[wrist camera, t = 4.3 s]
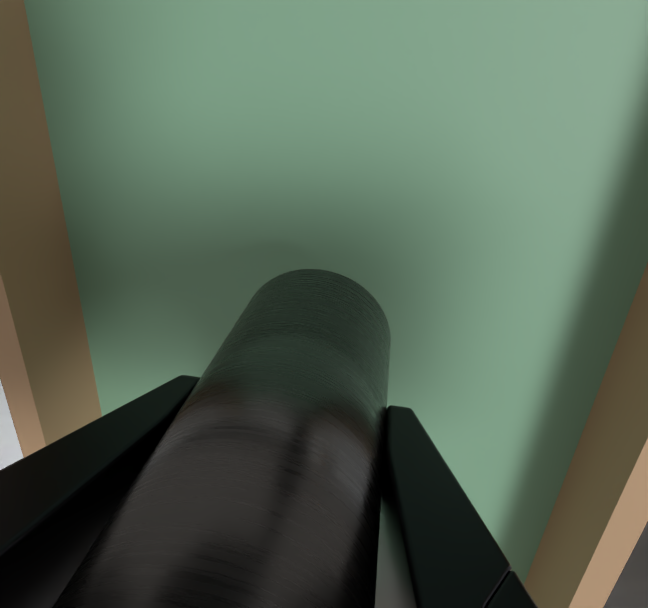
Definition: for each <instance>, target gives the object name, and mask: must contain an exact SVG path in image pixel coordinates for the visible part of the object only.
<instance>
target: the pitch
mask: <svg viewBox="0 0 648 608" xmlns="http://www.w3.org/2000/svg"><path fill="white" fill-rule="evenodd" d="M299 269H321V270H326V271H331V272H334V273H338V274H341V275H343V276H345V277H348V278H350V279H351V280H353V281H355V282H357V283H358V284H360V285H361V286H362V287H363V288H365V289H366V290H367V291H368V292H369V293H370V294H371V295H372V296H373V297H374V298H375V299H376V301H377V302H378V303H379V304H380V306H381V308H382V310H383V311H384V313H385V315H386V318H387V320H388V324H389V328H390V335H391V346H390V362H389V379H388V396H387V407H388V406H390V405H394V406H401V407H408V408H411V409H412V410H413V411H414V413H415V414H416V416H417V418H418V419H419V421H420V422H421V424H422V425H423V427H424V429H425V430H426V432H427V433H428V435H429V436H430V438H431V440H432V441H433V443H434V444H435V446H436V448H437V449H438V451H439V452H440V454H441V455H442V457H443V459H444V460H445V462H446V463H447V465H448V466H449V468H450V470H451V471H452V473H453V474H454V476H455V478H456V479H457V481H458V482H459V484H460V485H461V487H462V489H463V490H464V492H465V493H466V495H467V497H468V498H469V500H470V501H471V503H472V504H473V506H474V508H475V509H476V511H477V512H478V514H479V515H480V517H481V519H482V520H483V522H484V523H485V525H486V527H487V528H488V530H489V531H490V533H491V534H492V536H493V538H494V539H495V541H496V542H497V544H498V545H499V547H500V549H501V550H502V552H503V553H504V555H505V557H506V558H507V560H508V561H509V563H510V564H511V566H512V570H511V571H515V572H516V574H517V575H518V577H519V578H520V580H521V582H522V583H523V585H524V586H525V588H526V589H527V591H528V593H529V594H530V596H531V597H532V599H533V600H534V602H535V603H536V605H537V606H538V608H603V607H604V605H605V603H606V601H607V599H608V597H609V595H610V593H611V591H612V589H613V588H614V586H615V584H616V582H617V580H618V578H619V576H620V574H621V572H622V570H623V568H624V566H625V564H626V562H627V560H628V559H629V557H630V555H631V553H632V551H633V549H634V547H635V545H636V543H637V541H638V539H639V537H640V535H641V533H642V532H643V530H644V528H645V526H646V524H647V522H648V0H0V379H1V382H2V386H3V389H4V392H5V396H6V399H7V403H8V406H9V409H10V413H11V416H12V420H13V423H14V426H15V430H16V433H17V437H18V440H19V443H20V447H21V450H22V454H23V457H26V456H28V455H30V454H32V453H34V452H36V451H38V450H40V449H41V448H43V447H45V446H47V445H49V444H51V443H53V442H55V441H57V440H59V439H60V438H62V437H64V436H66V435H68V434H70V433H72V432H74V431H76V430H77V429H79V428H81V427H83V426H85V425H87V424H89V423H91V422H93V421H94V420H96V419H98V418H100V417H102V416H104V415H106V414H108V413H110V412H111V411H113V410H115V409H117V408H119V407H121V406H123V405H125V404H127V403H128V402H130V401H132V400H134V399H136V398H138V397H140V396H142V395H144V394H146V393H147V392H149V391H151V390H153V389H155V388H157V387H159V386H161V385H163V384H164V383H166V382H168V381H170V380H172V379H174V378H176V377H178V376H180V375H188V376H195V377H201V376H202V374H203V373H204V371H205V370H206V368H207V367H208V365H209V364H210V362H211V360H212V359H213V357H214V356H215V354H216V353H217V351H218V350H219V348H220V347H221V345H222V343H223V342H224V340H225V339H226V337H227V336H228V334H229V333H230V331H231V330H232V328H233V326H234V325H235V323H236V322H237V320H238V319H239V317H240V316H241V314H242V312H243V311H244V309H245V308H246V306H247V305H248V303H249V302H250V300H251V299H252V297H253V296H254V294H255V293H256V292H257V291H258V290H259V289H260V288H261V287H262V286H263V285H264V284H265V283H267V282H268V281H269V280H271V279H273V278H275V277H276V276H278V275H281V274H283V273H286V272H289V271H294V270H299Z"/></svg>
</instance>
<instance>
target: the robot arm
mask: <svg viewBox="0 0 648 608" xmlns="http://www.w3.org/2000/svg"><path fill="white" fill-rule="evenodd" d="M200 378H201V377H195V376H188V375H180V376H178V377H176V378H174V379H172V380H170V381H168V382H166V383H164V384H163V385H161V386H159V387H157V388H155V389H153V390H151V391H149V392H147V393H146V394H144V395H142V396H140V397H138V398H136V399H134V400H132V401H130V402H128V403H127V404H125V405H123V406H121V407H119V408H117V409H115V410H113V411H111V412H110V413H108V414H106V415H104V416H102V417H100V418H98V419H96V420H94V421H93V422H91V423H89V424H87V425H85V426H83V427H81V428H79V429H77V430H76V431H74V432H72V433H70V434H68V435H66V436H64V437H62V438H60V439H59V440H57V441H55V442H53V443H51V444H49V445H47V446H45V447H43V448H41V449H40V450H38V451H36V452H34V453H32V454H30V455H28V456H26V457H24V458H23V459H21V460H19V461H17V462H15V463H13V464H11V465H9V466H7V467H5V468H4V469H2V470H0V608H52V607H53V605H54V604H55V602H56V601H57V599H58V598H59V596H60V594H61V593H62V591H63V590H64V588H65V587H66V585H67V584H68V582H69V581H70V579H71V577H72V576H73V574H74V573H75V571H76V570H77V568H78V567H79V565H80V563H81V562H82V560H83V559H84V557H85V556H86V554H87V553H88V551H89V550H90V548H91V546H92V545H93V543H94V542H95V540H96V539H97V537H98V536H99V534H100V533H101V531H102V529H103V528H104V526H105V525H106V523H107V522H108V520H109V519H110V517H111V515H112V514H113V512H114V511H115V509H116V508H117V506H118V505H119V503H120V502H121V500H122V498H123V497H124V495H125V494H126V492H127V491H128V489H129V488H130V486H131V484H132V483H133V481H134V480H135V478H136V477H137V475H138V474H139V472H140V471H141V469H142V467H143V466H144V464H145V463H146V461H147V460H148V458H149V457H150V455H151V453H152V452H153V450H154V449H155V447H156V446H157V444H158V443H159V441H160V440H161V438H162V436H163V435H164V433H165V432H166V430H167V429H168V427H169V426H170V424H171V422H172V421H173V419H174V418H175V416H176V415H177V413H178V412H179V410H180V409H181V407H182V405H183V404H184V402H185V401H186V399H187V398H188V396H189V395H190V393H191V391H192V390H193V388H194V387H195V385H196V384H197V382H198V381H199V379H200ZM511 570H512V566H511V564H510V563H509V561H508V560H507V558H506V557H505V555H504V553H503V552H502V550H501V549H500V547H499V545H498V544H497V542H496V541H495V539H494V538H493V536H492V534H491V533H490V531H489V530H488V528H487V527H486V525H485V523H484V522H483V520H482V519H481V517H480V515H479V514H478V512H477V511H476V509H475V508H474V506H473V504H472V503H471V501H470V500H469V498H468V497H467V495H466V493H465V492H464V490H463V489H462V487H461V485H460V484H459V482H458V481H457V479H456V478H455V476H454V474H453V473H452V471H451V470H450V468H449V466H448V465H447V463H446V462H445V460H444V459H443V457H442V455H441V454H440V452H439V451H438V449H437V448H436V446H435V444H434V443H433V441H432V440H431V438H430V436H429V435H428V433H427V432H426V430H425V429H424V427H423V425H422V424H421V422H420V421H419V419H418V418H417V416H416V414H415V413H414V411H413V410H412V409H411V408H408V407H401V406H394V405H390V406H388V407H387V412H386V429H385V445H384V462H383V479H382V496H381V512H380V529H379V546H378V562H377V579H376V596H375V608H538V606H537V605H536V603H535V602H534V600H533V599H532V597H531V596H530V594H529V593H528V591H527V589H526V588H525V586H524V585H523V583H522V582H521V580H520V578H519V577H518V575H517V574H516V572H515V571H511Z"/></svg>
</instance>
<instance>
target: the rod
mask: <svg viewBox="0 0 648 608" xmlns="http://www.w3.org/2000/svg"><path fill="white" fill-rule="evenodd" d="M390 346H391V335H390V328H389V324H388V320H387V318H386V315H385V313H384V311H383V310H382V308H381V306H380V304H379V303H378V302H377V301H376V299H375V298H374V297H373V296H372V295H371V294H370V293H369V292H368V291H367V290H366V289H365V288H363V287H362V286H361V285H360V284H358V283H357V282H355V281H353V280H351V279H350V278H348V277H345V276H343V275H341V274H338V273H334V272H331V271H326V270H321V269H299V270H294V271H289V272H286V273H283V274H281V275H278V276H276V277H275V278H273V279H271V280H269V281H268V282H267V283H265V284H264V285H263V286H262V287H261V288H260V289H259V290H258V291H257V292H256V293H255V294H254V296H253V297H252V299H251V300H250V302H249V303H248V305H247V306H246V308H245V309H244V311H243V312H242V314H241V316H240V317H239V319H238V320H237V322H236V323H235V325H234V326H233V328H232V330H231V331H230V333H229V334H228V336H227V337H226V339H225V340H224V342H223V343H222V345H221V347H220V348H219V350H218V351H217V353H216V354H215V356H214V357H213V359H212V360H211V362H210V364H209V365H208V367H207V368H206V370H205V371H204V373H203V374H202V376H201V378H200V379H199V381H198V382H197V384H196V385H195V387H194V388H193V390H192V391H191V393H190V395H189V396H188V398H187V399H186V401H185V402H184V404H183V405H182V407H181V409H180V410H179V412H178V413H177V415H176V416H175V418H174V419H173V421H172V422H171V424H170V426H169V427H168V429H167V430H166V432H165V433H164V435H163V436H162V438H161V440H160V441H159V443H158V444H157V446H156V447H155V449H154V450H153V452H152V453H151V455H150V457H149V458H148V460H147V461H146V463H145V464H144V466H143V467H142V469H141V471H140V472H139V474H138V475H137V477H136V478H135V480H134V481H133V483H132V484H131V486H130V488H129V489H128V491H127V492H126V494H125V495H124V497H123V498H122V500H121V502H120V503H119V505H118V506H117V508H116V509H115V511H114V512H113V514H112V515H111V517H110V519H109V520H108V522H107V523H106V525H105V526H104V528H103V529H102V531H101V533H100V534H99V536H98V537H97V539H96V540H95V542H94V543H93V545H92V546H91V548H90V550H89V551H88V553H87V554H86V556H85V557H84V559H83V560H82V562H81V563H80V565H79V567H78V568H77V570H76V571H75V573H74V574H73V576H72V577H71V579H70V581H69V582H68V584H67V585H66V587H65V588H64V590H63V591H62V593H61V594H60V596H59V598H58V599H57V601H56V602H55V604H54V605H53V607H52V608H375V596H376V579H377V562H378V546H379V529H380V512H381V496H382V479H383V462H384V445H385V429H386V412H387V396H388V379H389V362H390Z"/></svg>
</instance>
